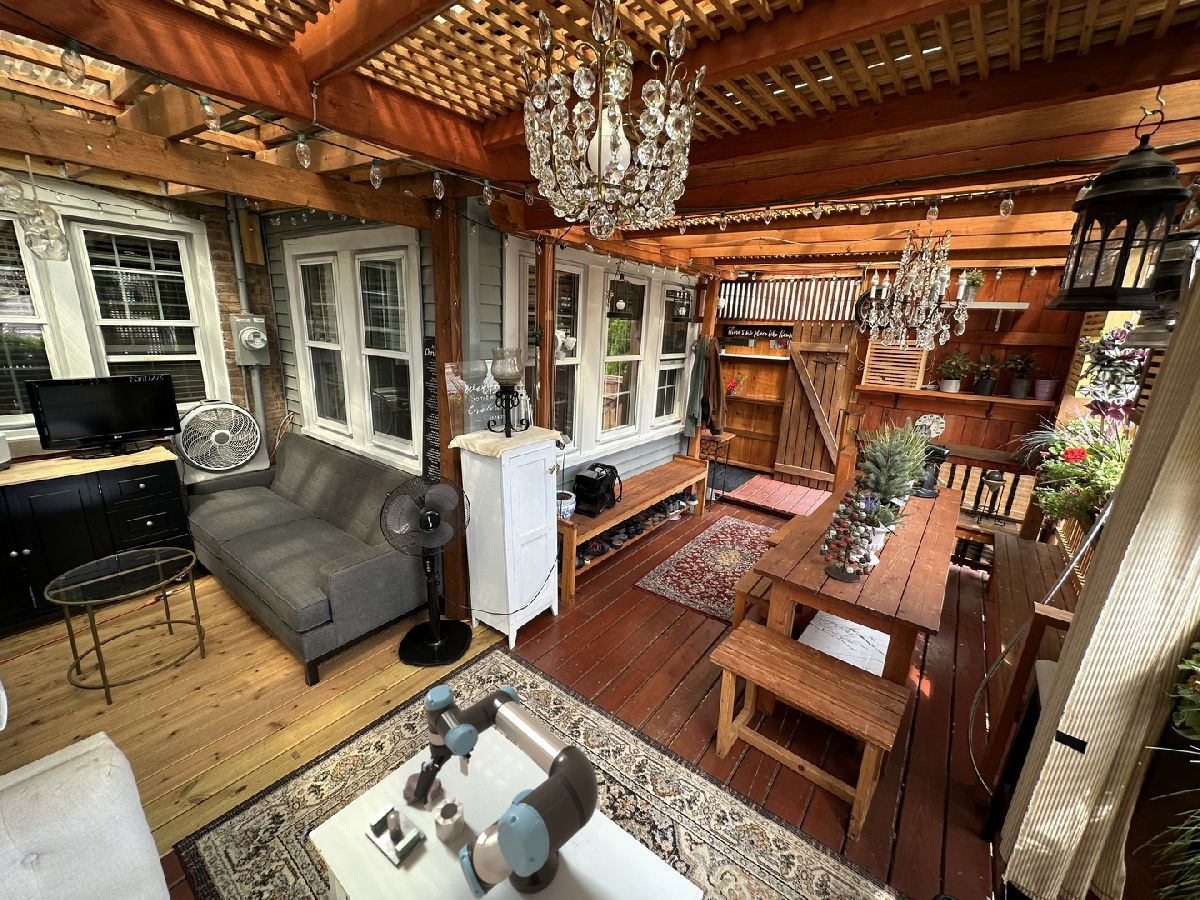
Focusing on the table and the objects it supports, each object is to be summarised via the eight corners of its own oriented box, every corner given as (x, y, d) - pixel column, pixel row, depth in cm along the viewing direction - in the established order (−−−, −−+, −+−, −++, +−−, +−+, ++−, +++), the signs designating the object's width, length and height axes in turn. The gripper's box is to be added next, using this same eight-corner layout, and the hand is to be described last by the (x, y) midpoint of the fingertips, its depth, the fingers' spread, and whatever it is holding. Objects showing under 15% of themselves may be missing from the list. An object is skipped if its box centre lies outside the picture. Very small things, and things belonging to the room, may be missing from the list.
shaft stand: (426, 836, 144) (423, 817, 142) (396, 867, 136) (394, 847, 134) (394, 807, 153) (392, 788, 150) (365, 834, 145) (362, 814, 142)
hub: (469, 824, 148) (467, 807, 146) (448, 847, 142) (447, 829, 140) (452, 809, 152) (450, 793, 150) (431, 831, 146) (429, 814, 144)
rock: (436, 805, 154) (435, 794, 153) (401, 805, 153) (400, 794, 152) (443, 781, 162) (443, 771, 160) (410, 781, 161) (409, 771, 160)
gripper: (467, 701, 149) (470, 754, 155) (396, 760, 129) (402, 817, 135) (483, 713, 145) (486, 766, 151) (413, 775, 125) (419, 833, 131)
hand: (446, 790), depth 143 cm, fingers open, 13 cm apart
